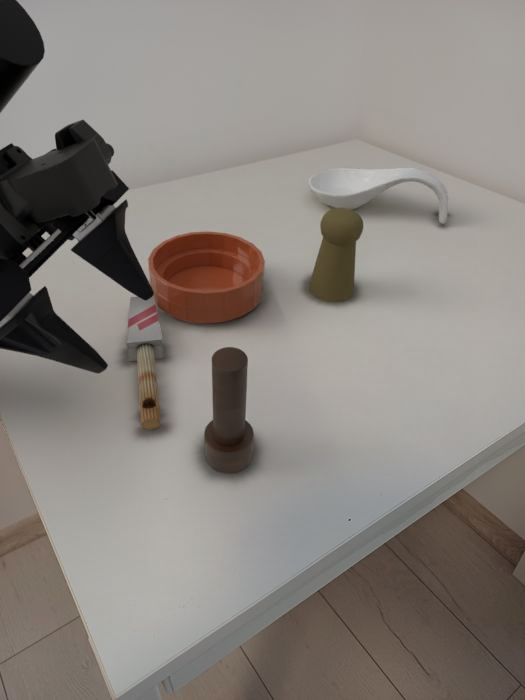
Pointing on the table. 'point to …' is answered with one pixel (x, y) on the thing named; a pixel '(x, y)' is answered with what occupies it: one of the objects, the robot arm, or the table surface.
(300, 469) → the table surface
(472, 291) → the table surface
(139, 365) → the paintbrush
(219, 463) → the pestle
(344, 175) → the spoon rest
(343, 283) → the olive game pawn
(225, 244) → the bowl
